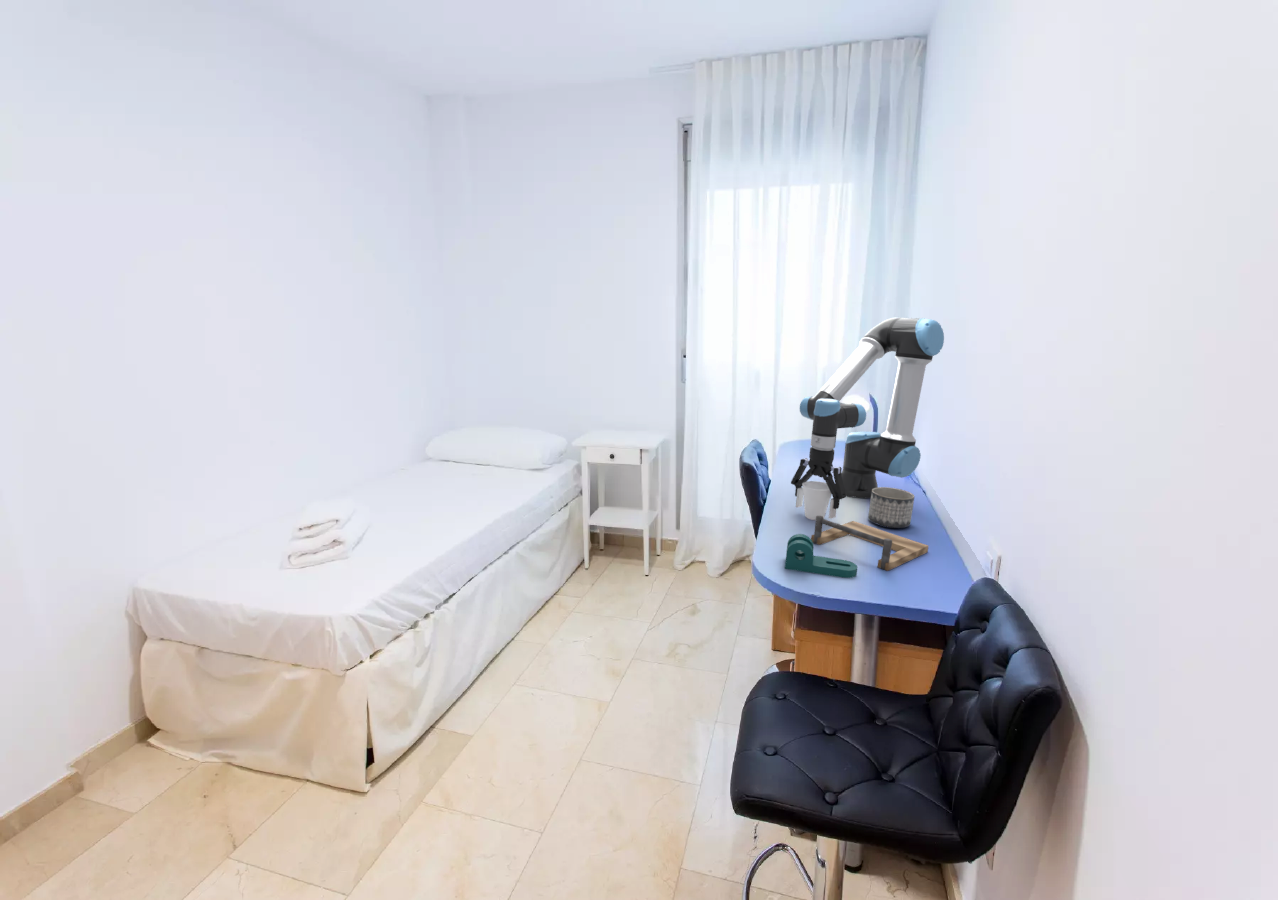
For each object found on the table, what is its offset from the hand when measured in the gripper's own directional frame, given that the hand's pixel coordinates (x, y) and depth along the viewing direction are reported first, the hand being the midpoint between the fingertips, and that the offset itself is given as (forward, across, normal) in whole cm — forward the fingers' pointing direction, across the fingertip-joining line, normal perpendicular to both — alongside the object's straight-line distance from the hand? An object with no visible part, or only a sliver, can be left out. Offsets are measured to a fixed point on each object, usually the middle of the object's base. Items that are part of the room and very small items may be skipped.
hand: (815, 512), depth 197 cm
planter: (+2, +17, +16) cm, 23 cm away
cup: (+2, 0, 0) cm, 2 cm away
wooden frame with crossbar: (+2, +24, -8) cm, 25 cm away
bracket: (+2, +25, -33) cm, 41 cm away
